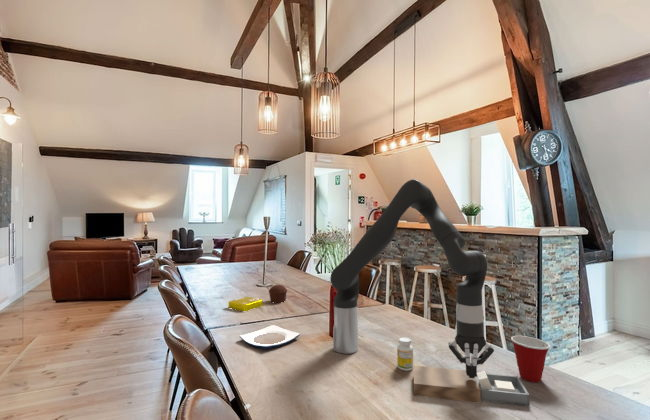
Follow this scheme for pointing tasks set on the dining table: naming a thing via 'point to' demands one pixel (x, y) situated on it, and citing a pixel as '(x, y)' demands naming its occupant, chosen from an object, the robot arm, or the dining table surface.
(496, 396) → the tray
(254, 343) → the plate
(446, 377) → the board
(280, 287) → the muffin
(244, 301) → the element tile
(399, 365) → the supplement bottle
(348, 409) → the dining table surface
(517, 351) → the plastic cup
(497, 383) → the tile
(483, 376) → the tile
